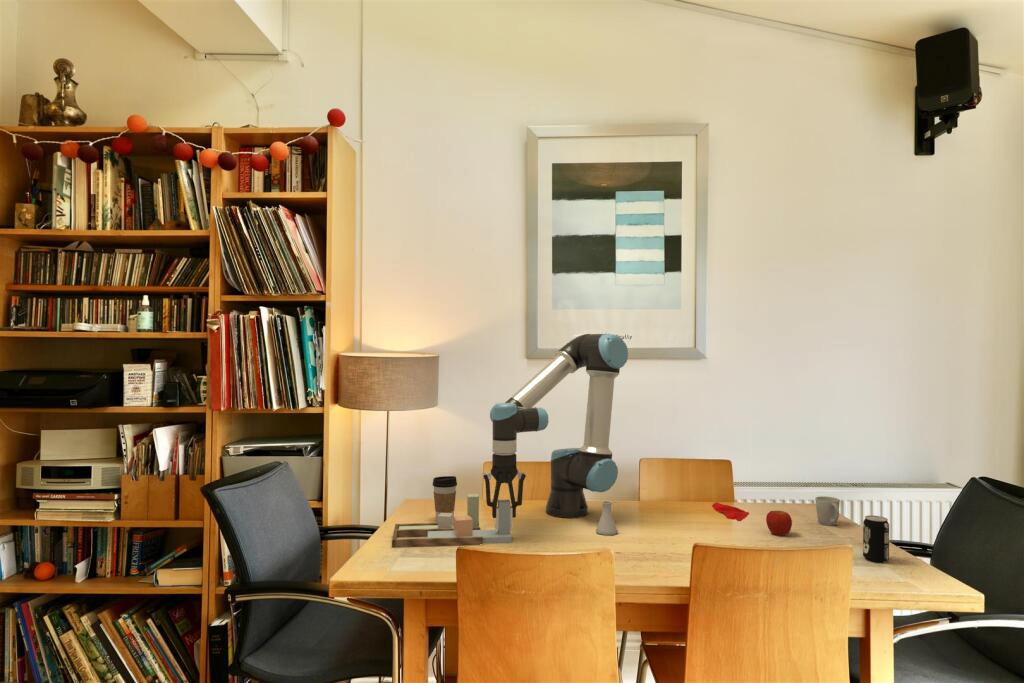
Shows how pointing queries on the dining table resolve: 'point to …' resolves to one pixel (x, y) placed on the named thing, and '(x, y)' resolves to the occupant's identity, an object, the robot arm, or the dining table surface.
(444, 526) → the grey cube
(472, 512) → the grey l-shaped bracket
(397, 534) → the lane frame
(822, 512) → the cup
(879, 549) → the beverage can
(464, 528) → the terracotta cube
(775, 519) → the apple
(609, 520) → the flask
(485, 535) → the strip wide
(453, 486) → the coffee cup
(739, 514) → the cloth
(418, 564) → the dining table surface
